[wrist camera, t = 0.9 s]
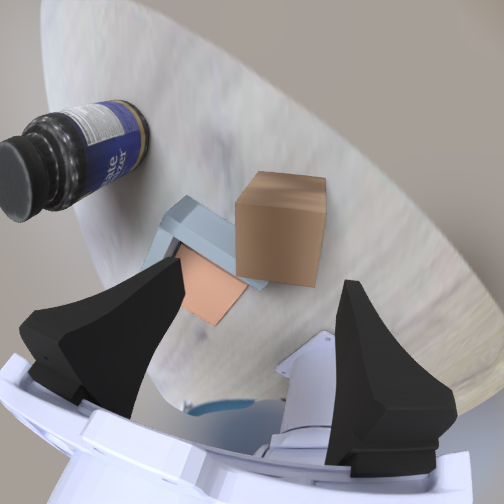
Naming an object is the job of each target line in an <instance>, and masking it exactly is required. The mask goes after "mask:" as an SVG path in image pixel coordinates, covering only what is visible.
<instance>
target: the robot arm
mask: <svg viewBox="0 0 504 504" xmlns="http://www.w3.org/2000/svg"><path fill="white" fill-rule="evenodd" d="M185 295H186V292H185V286H184V280H183V273H182V266H181V259H180V258H175V257H166V258H164V259H162V260H161V261H159V262H157V263H155V264H154V265H152V266H150V267H148V268H147V269H145V270H143V271H142V272H140V273H138V274H136V275H135V276H133V277H131V278H129V279H127V280H126V281H124V282H122V283H120V284H118V285H116V286H114V287H112V288H110V289H108V290H106V291H104V292H101V293H99V294H97V295H94V296H92V297H88V298H86V299H83V300H80V301H77V302H74V303H70V304H67V305H62V306H58V307H54V308H48V309H42V310H35V311H34V312H33V313H32V314H31V315H30V316H29V317H28V318H27V319H26V320H25V321H24V322H23V323H22V325H21V326H20V327H19V331H20V335H21V338H22V340H23V341H24V343H25V345H26V346H27V348H28V349H29V351H30V352H31V354H32V355H33V357H34V358H35V360H36V361H35V363H34V364H33V365H32V364H31V363H30V362H29V361H28V360H26V359H25V358H23V357H22V356H20V355H19V354H17V353H14V354H13V355H12V357H11V358H10V359H9V361H8V362H7V363H6V364H5V365H4V367H3V368H2V369H1V370H0V402H1V403H2V404H3V405H4V406H5V407H6V408H7V409H8V410H9V411H10V412H11V413H12V414H13V415H14V416H15V417H16V418H17V419H18V420H19V421H21V422H22V423H23V424H25V425H26V426H27V427H28V428H30V429H31V430H32V431H34V432H35V433H36V434H37V435H39V436H40V437H41V438H43V439H44V440H45V441H47V442H48V443H50V444H51V445H52V446H54V447H55V448H57V449H58V450H59V451H61V452H62V453H64V454H65V455H67V456H68V457H70V458H71V459H70V461H69V463H68V464H67V466H66V468H65V470H64V472H63V474H62V475H61V477H60V479H59V481H58V483H57V485H56V487H55V488H54V490H53V492H52V494H51V496H50V498H49V500H48V502H47V504H473V493H472V477H471V466H470V457H469V451H461V452H455V453H448V454H443V455H440V456H437V457H436V454H435V450H437V449H438V447H439V441H438V438H439V437H440V436H441V435H442V434H443V433H445V432H446V431H447V430H448V429H449V428H450V427H451V426H452V424H453V423H454V422H455V421H456V418H457V416H458V415H457V410H456V404H455V399H454V396H453V392H452V390H451V389H450V388H448V387H447V386H445V385H444V384H443V383H441V382H440V381H438V380H437V379H436V378H434V377H433V376H432V375H431V374H429V373H428V372H427V371H426V370H425V369H424V368H422V367H421V366H420V365H419V364H418V363H417V362H416V361H415V360H414V359H413V358H412V357H411V356H410V355H409V354H408V353H407V352H406V351H405V350H404V349H403V348H402V346H401V345H400V344H399V343H398V342H397V340H396V339H395V338H394V337H393V335H392V334H391V333H390V331H389V330H388V329H387V327H386V326H385V324H384V323H383V321H382V320H381V318H380V317H379V315H378V313H377V312H376V310H375V308H374V307H373V305H372V303H371V302H370V300H369V298H368V296H367V294H366V292H365V291H364V289H363V287H362V285H361V283H360V282H359V281H353V280H345V281H344V286H343V290H342V294H341V299H340V303H339V307H338V311H337V315H336V327H335V336H334V335H333V334H331V333H329V332H327V331H321V332H319V333H318V334H317V335H316V336H314V337H313V338H312V339H311V340H309V341H308V342H307V343H306V344H305V345H303V346H302V347H301V348H299V349H298V350H297V351H296V352H294V353H293V354H292V355H291V356H289V357H288V358H287V359H285V360H284V361H283V362H281V363H280V364H279V365H278V366H276V368H275V371H276V372H277V373H279V374H281V375H283V376H285V377H287V378H289V379H290V382H289V387H288V393H287V398H286V403H285V409H284V414H283V419H282V424H281V429H280V434H273V435H272V438H271V443H270V445H269V444H266V445H263V446H262V447H260V448H259V449H258V451H256V452H255V453H254V455H253V456H251V455H245V454H241V453H236V452H232V451H227V450H223V449H219V448H215V447H211V446H207V445H203V444H200V443H196V442H193V441H189V440H186V439H183V438H179V437H176V436H173V435H170V434H167V433H164V432H161V431H158V430H155V429H153V428H150V427H147V426H145V425H141V424H139V423H137V422H134V421H132V420H130V418H131V414H132V411H133V407H134V404H135V401H136V397H137V394H138V391H139V388H140V385H141V383H142V380H143V378H144V375H145V373H146V370H147V368H148V365H149V363H150V361H151V358H152V356H153V354H154V352H155V350H156V348H157V347H158V345H159V343H160V342H161V340H162V338H163V337H164V335H165V333H166V332H167V330H168V328H169V327H170V325H171V323H172V322H173V320H174V318H175V317H176V315H177V313H178V311H179V309H180V307H181V304H182V302H183V299H184V297H185Z"/></svg>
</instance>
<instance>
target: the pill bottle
mask: <svg viewBox="0 0 504 504" xmlns="http://www.w3.org/2000/svg"><path fill="white" fill-rule="evenodd" d="M148 137H149V132H148V127H147V123H146V120H145V118H144V117H143V115H142V114H141V113H140V111H139V110H138V109H137V108H136V107H135V106H134V105H132V104H131V103H129V102H127V101H123V100H110V101H105V102H99V103H94V104H88V105H83V106H79V107H74V108H70V109H66V110H61V111H57V112H53V113H49V114H46V115H42V116H39V117H37V118H36V119H34V120H33V121H32V122H31V123H29V125H28V126H27V127H26V128H25V129H24V131H23V133H22V135H21V136H13V137H12V138H9V139H7V140H4V141H2V142H0V207H1V209H2V210H3V211H4V213H5V214H6V215H7V216H8V217H9V218H10V219H12V220H13V221H15V222H18V223H19V222H20V223H21V222H25V221H27V220H28V219H30V218H31V217H33V216H35V215H37V214H38V213H39V212H40V211H41V210H42V209H45V210H48V211H60V210H64V209H67V208H68V207H70V206H72V205H73V204H74V203H76V202H78V201H79V200H81V199H83V198H84V197H86V196H88V195H89V194H91V193H93V192H95V191H96V190H98V189H100V188H101V187H103V186H105V185H107V184H108V183H110V182H112V181H114V180H116V179H117V178H119V177H121V176H123V175H125V174H127V173H129V172H130V171H132V170H134V169H135V168H136V167H137V166H138V165H139V164H140V163H141V162H142V160H143V158H144V157H145V154H146V152H147V148H148Z"/></svg>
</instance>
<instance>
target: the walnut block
mask: <svg viewBox="0 0 504 504" xmlns="http://www.w3.org/2000/svg"><path fill="white" fill-rule="evenodd" d="M325 218H326V180H325V178H321V177H313V176H304V175H295V174H285V173H275V172H264V171H258V173H257V174H256V175H255V177H254V178H253V179H252V181H251V182H250V183H249V185H248V186H247V187H246V189H245V190H244V191H243V193H242V194H241V195H240V197H239V198H238V199H237V201H236V202H235V252H236V277H243V278H250V279H257V280H264V281H271V282H278V283H285V284H292V285H299V286H307V287H314V288H315V282H316V276H317V270H318V264H319V258H320V252H321V245H322V239H323V232H324V225H325Z"/></svg>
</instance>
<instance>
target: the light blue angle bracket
mask: <svg viewBox="0 0 504 504" xmlns="http://www.w3.org/2000/svg"><path fill="white" fill-rule="evenodd" d="M179 241H181V242H183V243H182V244H181V246H180V248H179V250H178V252H177V254H176V256H175V258H180V259H181V266H182V273H183V280H184V286H185V292H186V295H185V297H184V299H183V302H182V304H181V306H182V307H184V308H185V309H187V310H189V311H190V312H192V313H193V314H195V315H197V316H198V317H200V318H202V319H203V320H205V321H207V322H208V323H210V324H212V325H213V326H215V325H216V324H217V323H218V321H219V320H220V319H221V318H222V317H223V315H224V314H225V313H226V312H227V311H228V309H229V308H230V307H231V306H232V304H233V303H234V302H235V301H236V300H237V298H238V297H239V296H240V295H241V294H242V292H243V291H244V290H245V289H246V287H247V286H248V284H249V285H250V286H252V287H254V288H255V289H257V290H258V291H260V292H261V290H262V289H263V288H264V287H265V286H266V285H267V284H268V282H269V281H264V280H257V279H250V278H243V277H238V278H237V277H236V252H235V226H234V225H233V224H231V223H229V222H228V221H226V220H225V219H223V218H222V217H220V216H219V215H217V214H216V213H214V212H212V211H211V210H209V209H208V208H206V207H205V206H203V205H202V204H200V203H198V202H197V201H195V200H194V199H192V198H191V197H189V196H187V195H186V196H185V197H184V198H182V199H181V200H180V201H179V202H178V203H177V204H175V205H174V206H173V207H172V208H171V209H170V210H169V211H168V212H166V213H165V215H164V217H163V219H162V222H161V224H160V226H159V228H158V231H157V233H156V235H155V238H154V240H153V242H152V245H151V247H150V249H149V252H148V254H147V257H146V259H145V261H144V264H143V266H142V269H141V271H140V272H142V271H143V270H145V269H147V268H148V267H150V266H152V265H154V264H155V263H157V262H159V261H161V260H162V259H164V258H166V257H172V255H173V253H174V251H175V249H176V247H177V245H178V243H179ZM184 243H185V244H184ZM187 245H188V246H187ZM190 247H191V248H190ZM201 254H202V255H201ZM204 256H205V257H204ZM215 263H216V264H215ZM226 270H227V271H226ZM245 282H246V283H245Z"/></svg>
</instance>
